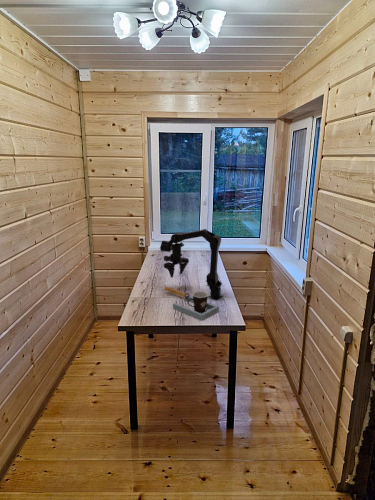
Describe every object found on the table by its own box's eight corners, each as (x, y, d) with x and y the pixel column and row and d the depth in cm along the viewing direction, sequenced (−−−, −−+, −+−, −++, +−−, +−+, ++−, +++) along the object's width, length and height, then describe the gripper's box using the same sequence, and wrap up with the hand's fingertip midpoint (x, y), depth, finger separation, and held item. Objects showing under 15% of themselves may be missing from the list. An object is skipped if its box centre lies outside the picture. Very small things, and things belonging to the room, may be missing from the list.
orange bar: (190, 297, 198) (190, 294, 198) (187, 299, 196) (187, 295, 195) (167, 289, 212) (167, 286, 211) (164, 290, 209) (164, 287, 209)
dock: (186, 298, 201) (186, 293, 200) (219, 310, 184) (219, 306, 183) (168, 306, 190) (168, 301, 189) (201, 320, 173) (201, 315, 172)
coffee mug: (206, 307, 189) (207, 291, 186) (208, 314, 180) (208, 297, 178) (187, 307, 188) (187, 291, 186) (187, 314, 180) (187, 297, 177)
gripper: (176, 247, 216) (176, 269, 220) (157, 253, 202) (157, 276, 206) (189, 250, 209) (189, 273, 213) (170, 256, 195) (170, 280, 199)
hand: (176, 275), depth 208 cm, fingers open, 9 cm apart
